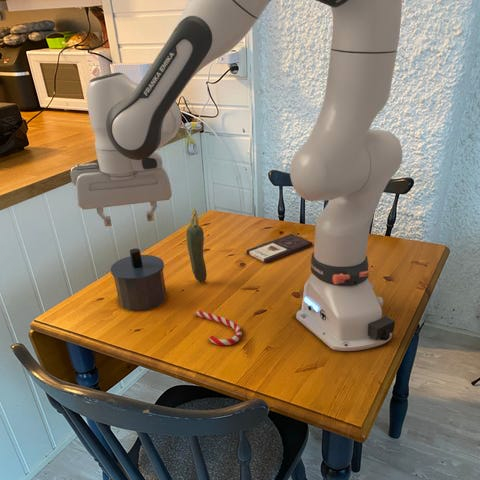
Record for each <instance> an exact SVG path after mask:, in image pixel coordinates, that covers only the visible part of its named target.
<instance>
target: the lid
mask: <svg viewBox="0 0 480 480" xmlns="http://www.w3.org/2000/svg"><path fill="white" fill-rule="evenodd" d="M164 268H165V262H164V260H163V259H162V258H160V257H159V256H156V255H152V254H141V249H139V248H131V249H129V256H125V257H123V258H120V259H119V260H117V261H115V262H114V263H113V264H112V265H111V266H110V274H111V275H112V276H113V278H114V277H116V278H118V279H122V280H141V279H146V278H150V277H152V276H155V275H157V274H158V273H160V272H161V271H162V270H163V271H164Z"/></svg>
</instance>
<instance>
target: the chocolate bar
mask: <svg viewBox="0 0 480 480" xmlns="http://www.w3.org/2000/svg"><path fill="white" fill-rule="evenodd" d="M311 246H313V241H311V240H308V239H306V238H303V237H301V236H298V235H295V234H293V233H290V234H287V235H284V236H282V237H279V238H275V239H274V240H270V241H268V242H265V243H263V244H260V245H257V246H254V247H252V248H251V247H250V248H249V249H246V254H247V255H249V256H252V257H254V258H256V259H258V260H259V261H261V262H263V263H266V264H269V263H271V262H274V261H276V260H279V259H281V258H283V257H286V256H289V255H291V254H294V253H296V252H299V251H302V250H304V249H306V248H309V247H311Z"/></svg>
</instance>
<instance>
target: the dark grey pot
mask: <svg viewBox="0 0 480 480" xmlns="http://www.w3.org/2000/svg"><path fill="white" fill-rule="evenodd" d="M113 280H114V284H115V289H116V294H117V295H116V296H117V300H118V304H119V305H120V307H121V308H123V309H125V310H127V311H132V312H142V311H148V310H152V309H155V308H157V307H160V306H161V305H163V303H164V302H166V299H167V289H166V281H165V273H164V269H163V270H162V271H161V272H160V273H158V274H157V275H155V276H152V277H150V278H146V279H141V280H122V279H118V278H116V277H114V276H113Z"/></svg>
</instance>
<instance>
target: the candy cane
mask: <svg viewBox="0 0 480 480" xmlns="http://www.w3.org/2000/svg"><path fill="white" fill-rule="evenodd" d="M195 316H196V317H200V318H203V319H207V320H209V321H213V322H217V323H219V324H223V325H225V326H228V327H229V328H231V329H232V330H234V332H235V334H234V336H232V337H230V338H227V339H226V338H225V339H219V338H216V337H215V336H214V335H210V336H209V341H210V342H211V343H213V344H215V345H217V346H231V345H235V344H236V343H237V342H238V341H240V340H241V338H242V335H243V332H242V331H243V330H242V329H241V327H240V325H238V324H237V323H235V322H234V321H232V320H230V319H229V318H225V317H222V316H219V315H216V314H213V313H209V312H205V311H202V310H197V311H196V312H195Z"/></svg>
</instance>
